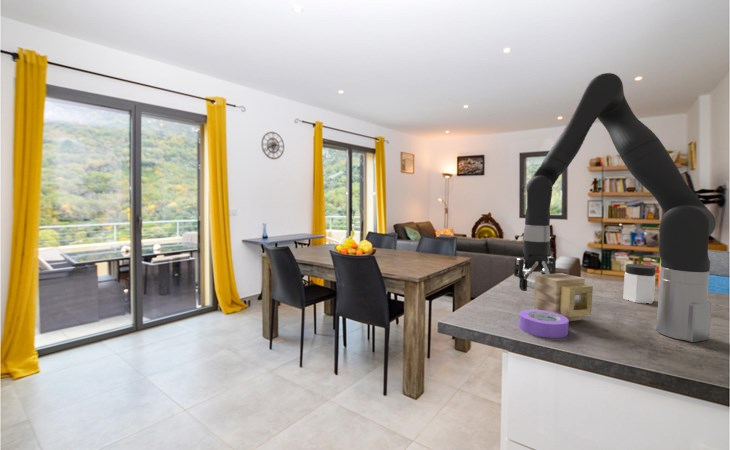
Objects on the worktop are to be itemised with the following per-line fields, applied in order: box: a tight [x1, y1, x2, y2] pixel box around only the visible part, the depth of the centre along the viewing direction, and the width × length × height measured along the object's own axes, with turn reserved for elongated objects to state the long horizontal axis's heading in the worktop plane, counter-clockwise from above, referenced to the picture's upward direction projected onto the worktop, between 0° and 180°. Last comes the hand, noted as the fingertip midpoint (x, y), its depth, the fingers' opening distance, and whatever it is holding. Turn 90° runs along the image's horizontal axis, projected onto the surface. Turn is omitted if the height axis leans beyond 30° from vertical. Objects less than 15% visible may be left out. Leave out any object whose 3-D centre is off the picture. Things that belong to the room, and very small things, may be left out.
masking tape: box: [518, 309, 570, 339], centre depth 94 cm, size 12×12×4 cm
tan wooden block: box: [533, 272, 585, 322], centre depth 104 cm, size 8×10×12 cm
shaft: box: [526, 277, 584, 304], centre depth 106 cm, size 19×3×3 cm, turn 17°
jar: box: [622, 263, 657, 305], centre depth 121 cm, size 9×8×12 cm
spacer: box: [560, 283, 594, 317], centre depth 98 cm, size 3×8×8 cm, turn 107°
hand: (534, 289), depth 113 cm, fingers open, 8 cm apart
